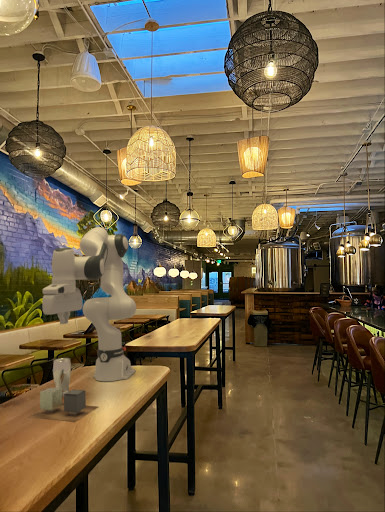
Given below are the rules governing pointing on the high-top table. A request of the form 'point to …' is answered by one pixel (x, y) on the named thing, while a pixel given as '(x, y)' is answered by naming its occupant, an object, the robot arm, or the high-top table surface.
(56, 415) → the walnut board
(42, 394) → the pale green block
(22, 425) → the high-top table surface
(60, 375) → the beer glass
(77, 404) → the dark grey paneled cube
